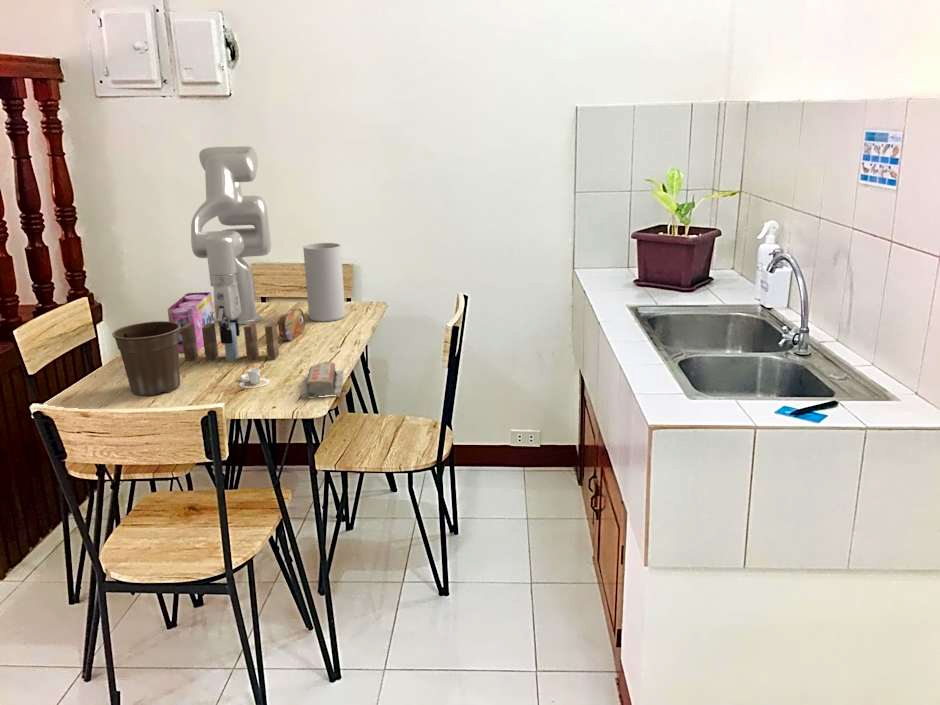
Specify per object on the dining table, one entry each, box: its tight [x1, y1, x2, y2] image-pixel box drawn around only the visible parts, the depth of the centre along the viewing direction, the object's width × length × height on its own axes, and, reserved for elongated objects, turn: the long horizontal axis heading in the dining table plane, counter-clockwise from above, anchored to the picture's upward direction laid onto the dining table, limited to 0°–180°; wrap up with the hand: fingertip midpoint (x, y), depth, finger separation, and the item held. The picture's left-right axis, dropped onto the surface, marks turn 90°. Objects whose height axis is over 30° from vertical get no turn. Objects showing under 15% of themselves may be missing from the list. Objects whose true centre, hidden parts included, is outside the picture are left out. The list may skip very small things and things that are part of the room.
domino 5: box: [264, 321, 280, 361], centre depth 230 cm, size 2×6×10 cm, turn 0°
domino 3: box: [224, 322, 239, 362], centre depth 230 cm, size 2×6×10 cm, turn 0°
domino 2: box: [202, 322, 219, 362], centre depth 230 cm, size 2×6×10 cm, turn 0°
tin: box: [277, 308, 306, 341], centre depth 251 cm, size 15×3×8 cm, turn 168°
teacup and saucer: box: [238, 367, 271, 389], centre depth 209 cm, size 9×8×4 cm
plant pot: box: [111, 320, 181, 397], centre depth 205 cm, size 16×16×16 cm
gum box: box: [167, 291, 215, 353], centre depth 246 cm, size 24×8×14 cm, turn 4°
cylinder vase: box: [302, 242, 346, 322], centre depth 272 cm, size 12×12×25 cm
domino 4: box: [243, 322, 260, 361], centre depth 230 cm, size 2×6×10 cm, turn 0°
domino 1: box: [181, 323, 199, 363], centre depth 230 cm, size 2×6×10 cm, turn 1°
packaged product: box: [300, 361, 344, 399], centre depth 206 cm, size 18×5×10 cm
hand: (230, 339), depth 230 cm, fingers open, 6 cm apart
